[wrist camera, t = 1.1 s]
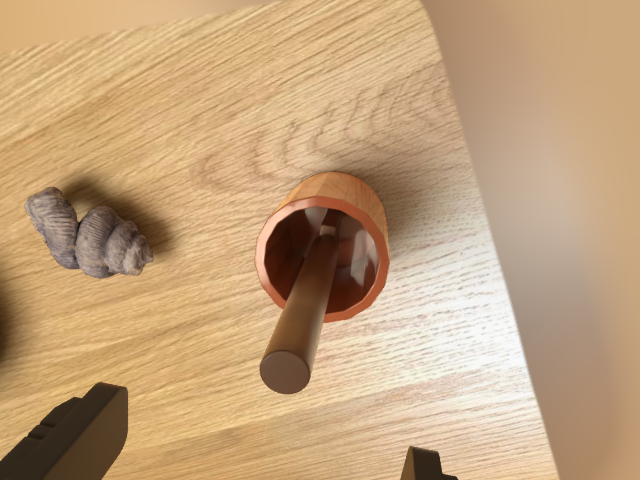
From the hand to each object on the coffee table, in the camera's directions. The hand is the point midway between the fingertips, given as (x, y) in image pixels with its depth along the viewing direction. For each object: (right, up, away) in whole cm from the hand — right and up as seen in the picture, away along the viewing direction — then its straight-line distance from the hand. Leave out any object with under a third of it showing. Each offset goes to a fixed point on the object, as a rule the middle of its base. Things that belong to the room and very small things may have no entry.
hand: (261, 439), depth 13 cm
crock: (+3, +7, +21) cm, 22 cm away
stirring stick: (+3, +7, +20) cm, 21 cm away
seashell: (-15, +7, +23) cm, 28 cm away
